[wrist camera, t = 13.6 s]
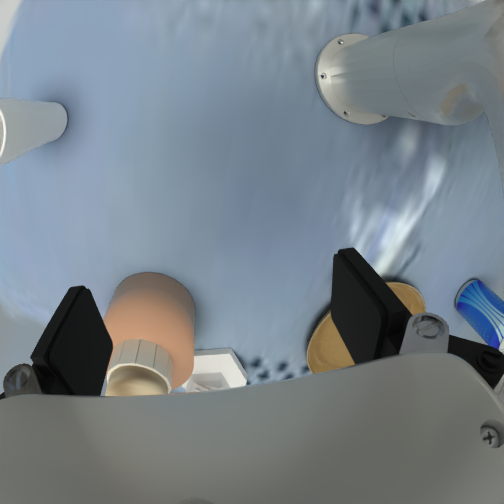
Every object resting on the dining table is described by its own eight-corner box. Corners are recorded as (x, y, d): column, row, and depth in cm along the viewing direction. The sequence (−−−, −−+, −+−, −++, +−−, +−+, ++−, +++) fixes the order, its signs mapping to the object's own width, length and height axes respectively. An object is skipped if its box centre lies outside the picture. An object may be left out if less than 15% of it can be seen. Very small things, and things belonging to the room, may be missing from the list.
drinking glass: (64, 152, 32) (-3, 182, 19) (27, 138, 30) (-45, 162, 17) (81, 103, 30) (14, 107, 17) (42, 91, 28) (-31, 94, 15)
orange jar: (185, 266, 42) (177, 340, 29) (202, 336, 48) (203, 412, 34) (101, 278, 41) (67, 348, 28) (128, 343, 47) (111, 415, 34)
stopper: (160, 341, 33) (154, 384, 27) (175, 380, 36) (173, 420, 30) (106, 345, 32) (94, 386, 27) (126, 382, 36) (119, 421, 30)
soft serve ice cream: (170, 383, 55) (148, 433, 41) (197, 327, 51) (174, 378, 37) (228, 408, 55) (217, 462, 42) (263, 357, 51) (259, 414, 38)
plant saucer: (429, 263, 48) (439, 272, 45) (403, 357, 59) (409, 367, 56) (303, 285, 46) (309, 298, 43) (300, 383, 57) (304, 396, 54)
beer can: (482, 288, 54) (525, 329, 39) (459, 315, 56) (499, 360, 42) (473, 270, 51) (522, 313, 36) (448, 299, 53) (493, 348, 39)
